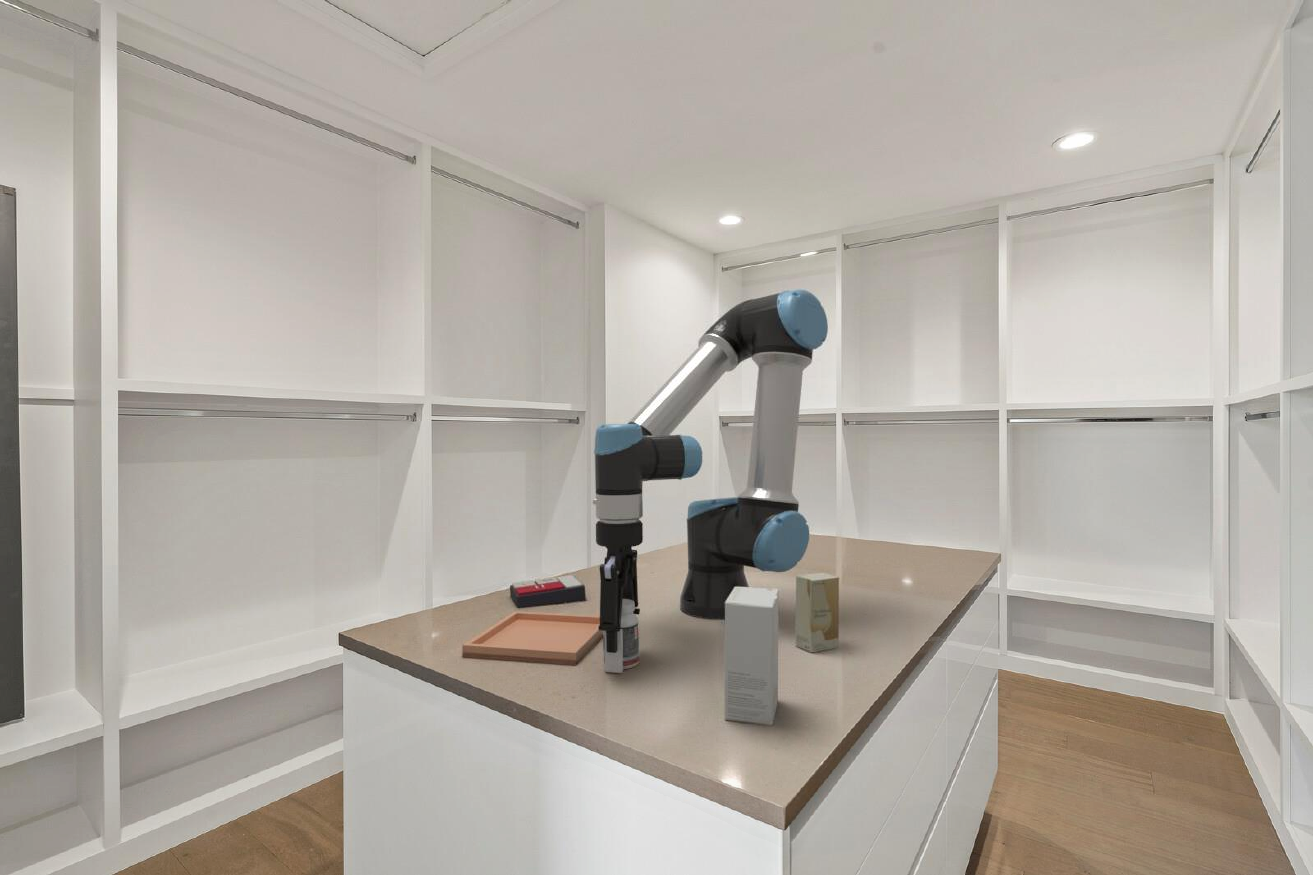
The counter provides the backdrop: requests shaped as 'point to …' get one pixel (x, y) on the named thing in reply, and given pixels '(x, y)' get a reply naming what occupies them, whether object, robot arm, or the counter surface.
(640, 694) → the counter surface
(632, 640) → the pill bottle
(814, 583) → the skincare box
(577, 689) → the counter surface
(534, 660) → the tray
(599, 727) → the counter surface
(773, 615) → the skincare box
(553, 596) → the calculator
